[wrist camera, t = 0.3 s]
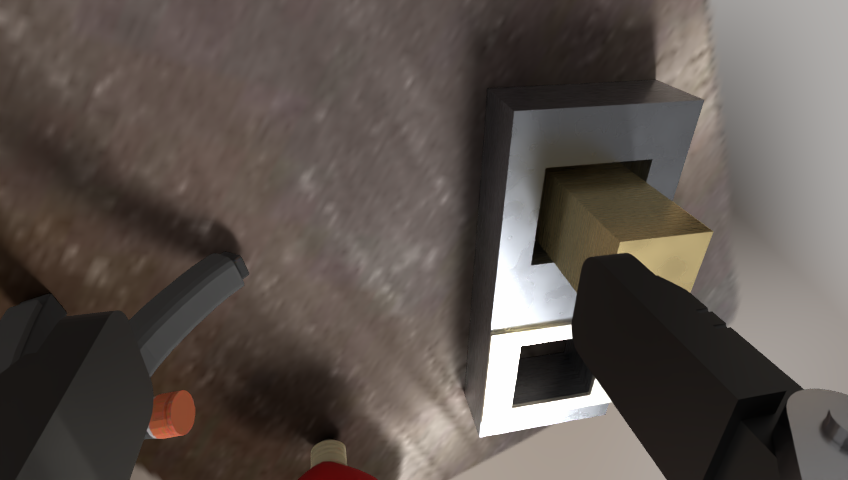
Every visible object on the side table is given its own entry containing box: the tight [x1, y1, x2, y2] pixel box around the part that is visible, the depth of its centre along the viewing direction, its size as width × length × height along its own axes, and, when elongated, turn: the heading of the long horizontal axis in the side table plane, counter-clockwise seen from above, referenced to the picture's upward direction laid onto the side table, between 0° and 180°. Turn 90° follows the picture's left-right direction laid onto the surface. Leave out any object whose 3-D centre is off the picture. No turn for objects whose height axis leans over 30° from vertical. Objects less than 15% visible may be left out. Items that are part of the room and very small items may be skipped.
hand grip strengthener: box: [0, 252, 249, 439], centre depth 21 cm, size 2×13×15 cm, turn 101°
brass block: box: [535, 162, 713, 293], centre depth 26 cm, size 4×4×10 cm
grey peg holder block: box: [465, 80, 704, 437], centre depth 31 cm, size 24×10×4 cm, turn 0°
